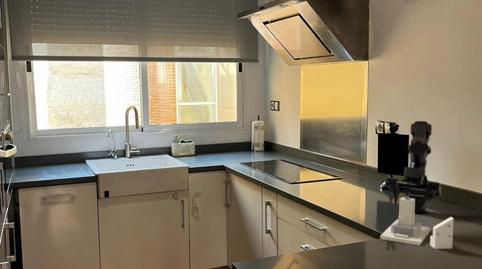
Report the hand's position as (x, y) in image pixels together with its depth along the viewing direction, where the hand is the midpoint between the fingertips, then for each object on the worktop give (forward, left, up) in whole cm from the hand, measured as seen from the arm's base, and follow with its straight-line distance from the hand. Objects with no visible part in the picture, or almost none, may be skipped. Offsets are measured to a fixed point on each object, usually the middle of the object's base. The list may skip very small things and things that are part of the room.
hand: (408, 206), depth 173 cm
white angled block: (+1, +16, -10) cm, 19 cm away
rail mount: (+3, +2, -9) cm, 10 cm away
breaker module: (+2, +2, -8) cm, 8 cm away
